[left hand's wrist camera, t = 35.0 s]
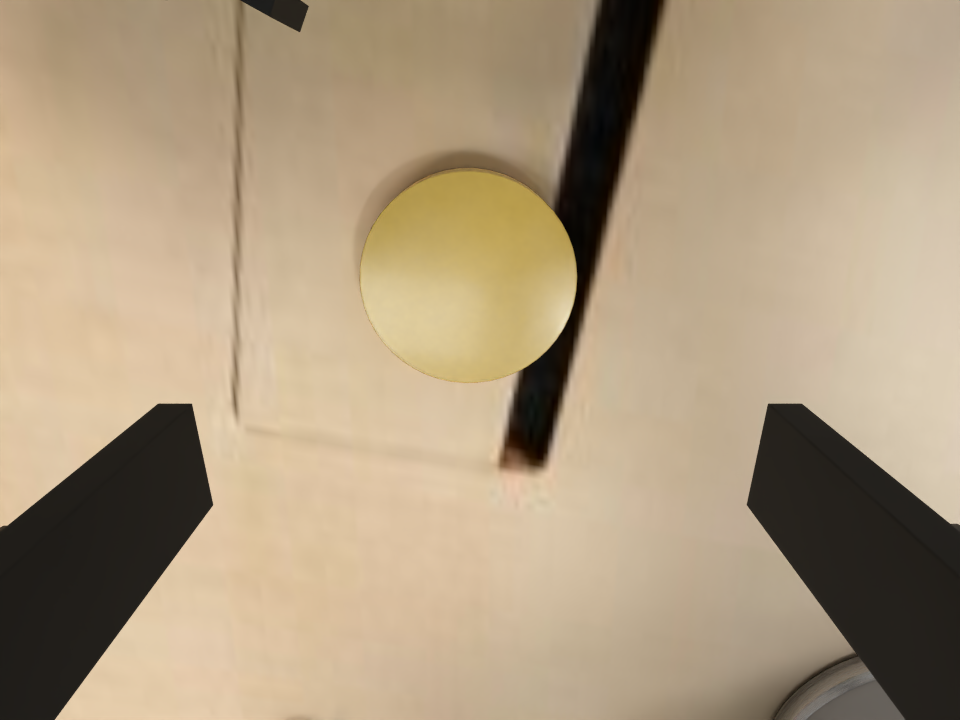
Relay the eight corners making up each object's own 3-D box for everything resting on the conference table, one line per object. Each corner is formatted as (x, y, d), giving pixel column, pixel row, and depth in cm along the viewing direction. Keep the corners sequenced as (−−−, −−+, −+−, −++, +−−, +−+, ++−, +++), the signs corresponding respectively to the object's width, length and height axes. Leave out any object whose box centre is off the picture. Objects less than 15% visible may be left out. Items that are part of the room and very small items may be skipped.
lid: (607, 300, 25) (616, 311, 24) (445, 401, 27) (444, 417, 26) (496, 120, 22) (498, 120, 21) (323, 249, 24) (313, 257, 23)
